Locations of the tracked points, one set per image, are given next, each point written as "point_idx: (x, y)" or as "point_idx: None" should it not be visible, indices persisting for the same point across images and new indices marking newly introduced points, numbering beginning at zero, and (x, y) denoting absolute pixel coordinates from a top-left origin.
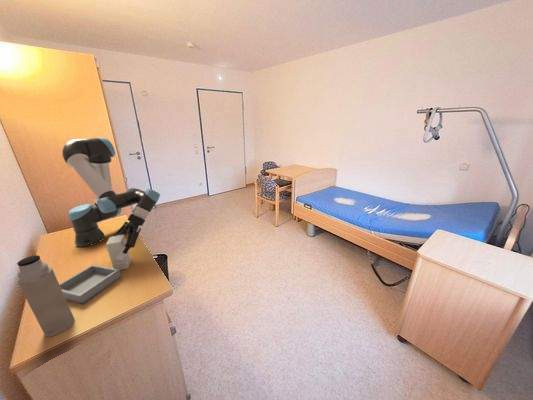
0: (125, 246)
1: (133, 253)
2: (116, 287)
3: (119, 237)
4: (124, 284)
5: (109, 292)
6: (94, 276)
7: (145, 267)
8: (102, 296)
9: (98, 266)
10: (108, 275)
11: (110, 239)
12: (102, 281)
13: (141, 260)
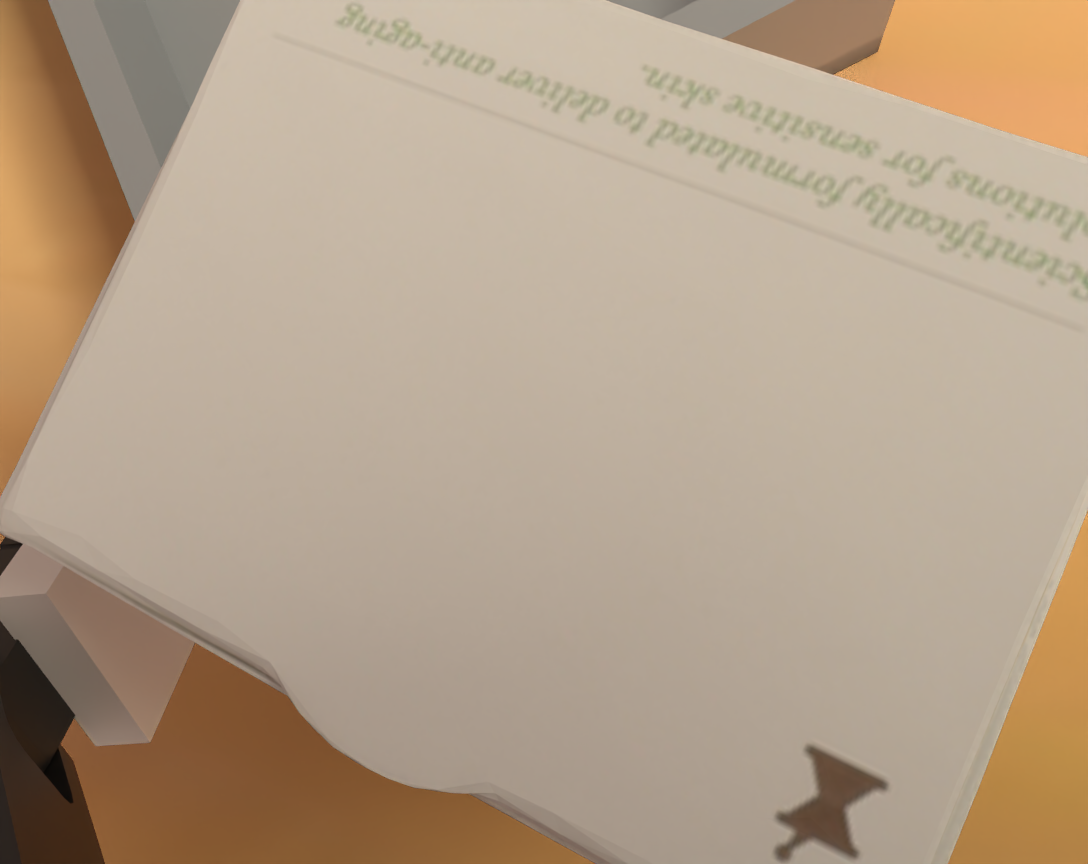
0: (3, 608)
1: (1078, 851)
2: (54, 239)
3: (543, 621)
4: (24, 345)
5: (23, 142)
6: (646, 8)
7: (203, 776)
8: (17, 56)
9: (697, 27)
10: (135, 129)
11: (715, 155)
12: (67, 29)
13: (543, 838)
